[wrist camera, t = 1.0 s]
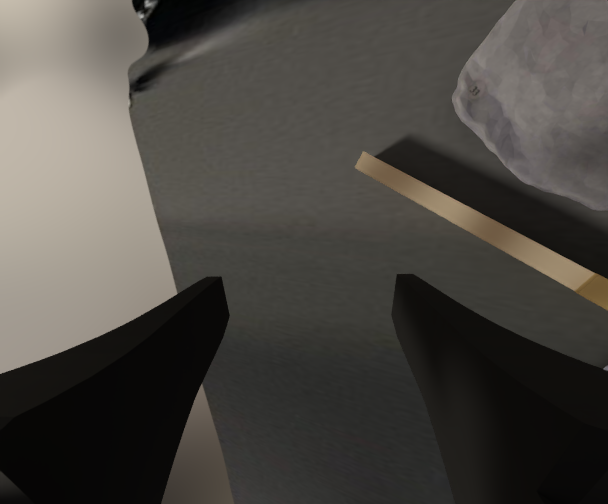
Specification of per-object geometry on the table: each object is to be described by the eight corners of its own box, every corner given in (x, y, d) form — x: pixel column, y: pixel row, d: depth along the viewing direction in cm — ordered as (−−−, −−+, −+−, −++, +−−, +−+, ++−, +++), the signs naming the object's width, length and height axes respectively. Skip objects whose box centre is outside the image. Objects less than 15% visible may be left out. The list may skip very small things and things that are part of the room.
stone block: (591, 222, 16) (880, 28, 10) (614, 241, 12) (1092, -47, 6) (435, 122, 19) (574, -66, 13) (417, 115, 16) (596, -147, 10)
